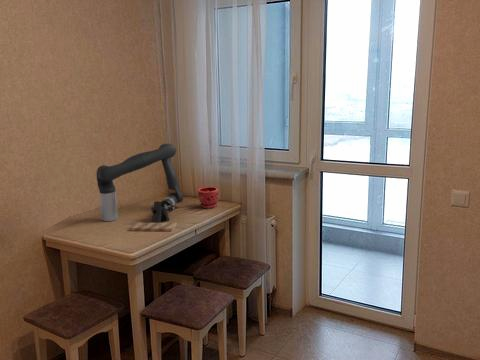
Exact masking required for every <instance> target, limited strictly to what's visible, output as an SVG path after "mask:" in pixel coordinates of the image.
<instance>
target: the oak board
mask: <svg viewBox="0 0 480 360" xmlns="http://www.w3.org/2000/svg"><path fill="white" fill-rule="evenodd" d="M176 227H177V222H163V223H152V222H139V221H138V222H135V223H134V224H133V225H132V226H130V227H129V231H134V232H135V231H137V232H141V231H142V232H144V231H145V232H172V231H173V230H174V229H175V228H176Z"/></svg>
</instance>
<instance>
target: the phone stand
mask: <svg viewBox="0 0 480 360" xmlns="http://www.w3.org/2000/svg"><path fill="white" fill-rule="evenodd" d="M153 205H154V209H155V211H154V214H153V213H152V216H151V222H150V223H167V222H170V217H169V215H168V212H166V213H165V214H163V210H164V209H165V206H164V203H163V202H161V201H158V200H157V201H154V202H153ZM165 210H166V209H165Z"/></svg>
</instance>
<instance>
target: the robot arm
mask: <svg viewBox="0 0 480 360" xmlns="http://www.w3.org/2000/svg"><path fill="white" fill-rule="evenodd" d="M176 153H177V148H176V146H175V145H174V144H172V143H162V144H161V145H160V146H159V147H158V148H157V149H154V150H149V151H144V152H140V153H138V154H134V155H132V156H129V157H128V158H126V159H125V160H123V161H122V162H121V163H117V164H113V165H111V166H109V165H105V164H103V165H100V166H99V167H98V168H97V169H96V175H95V176H96V182H97V187H98V191H99V198H100V204H99V213H100V220H101V221H103V222H113V221H114V222H115V221H117V220H119V214H118V203H117V194H116V193H117V192H116V186H115V184H114V182H113V180H116V179H118V178H120V177H122V176H124V175H127V174H130V173H133V172H136V171H138V170H141V169H144V168H146V167H149V166H150V165H153V164H155V163H156V162H159V161H161V163H162V166H163V167H162V168H163V170H164V175H165V177H166V178H165V180H166V184H167V189H169V190H172V191H173V192H170V193H169V192H168V193H167V196H166V197H165V198H164V199H163V200H161V201H160V202H163V203H164V206H165V209H166V210H165V209H164V210H163V214H165V213H166V212H167V213H168V212H169V213H172V212H173V211H174V210H175V205H176V204H178V203H182V202H183V200H184V195H183V192H182V190H181V188H180V186H179V181H178V176H177V173H176V171H175V169H174V167H173V164H172V163H173V162H172V158H173V157H175V155H176ZM150 210H151V213H152V215H153V214H154V211H155V209H154V204H153V205H152V206H151V208H150Z"/></svg>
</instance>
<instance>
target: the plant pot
mask: <svg viewBox="0 0 480 360" xmlns="http://www.w3.org/2000/svg"><path fill="white" fill-rule="evenodd" d="M197 194H198V199H199V202H200V204H199V205H200V207H202V208H204V209H212V208H213V209H214V208H216V207H217V206H218V204H219V203H218V199H219V189H218V188H217V187H214V186H205V187H201V188H199V189H198V190H197Z"/></svg>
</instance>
